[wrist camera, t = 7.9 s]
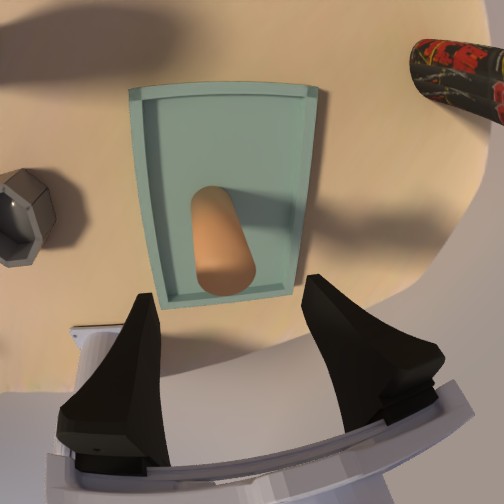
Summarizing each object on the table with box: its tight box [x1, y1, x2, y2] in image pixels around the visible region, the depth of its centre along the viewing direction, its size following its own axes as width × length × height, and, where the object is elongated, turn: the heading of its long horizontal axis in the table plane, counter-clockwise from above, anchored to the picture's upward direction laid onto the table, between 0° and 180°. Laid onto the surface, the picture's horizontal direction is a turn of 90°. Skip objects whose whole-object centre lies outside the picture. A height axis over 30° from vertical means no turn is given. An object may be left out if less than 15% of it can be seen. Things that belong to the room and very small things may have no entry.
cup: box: [0, 169, 56, 268], centre depth 16 cm, size 7×7×3 cm
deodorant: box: [409, 39, 504, 126], centre depth 12 cm, size 6×6×15 cm
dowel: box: [191, 186, 256, 296], centre depth 18 cm, size 3×3×8 cm
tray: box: [129, 81, 318, 310], centre depth 21 cm, size 18×12×2 cm, turn 178°
